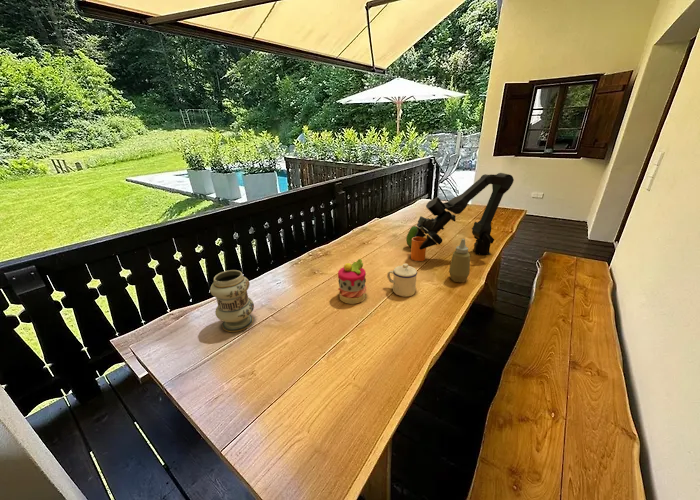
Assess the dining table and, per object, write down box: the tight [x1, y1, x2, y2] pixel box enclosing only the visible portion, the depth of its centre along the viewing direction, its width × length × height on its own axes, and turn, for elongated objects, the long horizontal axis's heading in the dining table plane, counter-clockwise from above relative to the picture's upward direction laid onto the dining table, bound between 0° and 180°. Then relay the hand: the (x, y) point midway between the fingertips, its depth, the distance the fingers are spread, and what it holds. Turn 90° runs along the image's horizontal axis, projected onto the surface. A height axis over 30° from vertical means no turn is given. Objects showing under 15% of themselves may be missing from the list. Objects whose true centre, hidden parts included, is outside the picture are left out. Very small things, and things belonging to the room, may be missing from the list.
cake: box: [337, 258, 367, 305], centre depth 112 cm, size 10×11×15 cm
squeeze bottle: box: [448, 238, 471, 283], centre depth 122 cm, size 8×8×18 cm
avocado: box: [405, 225, 418, 248], centre depth 157 cm, size 8×8×12 cm
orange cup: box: [410, 236, 427, 262], centre depth 145 cm, size 7×7×10 cm
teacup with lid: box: [386, 263, 418, 297], centre depth 116 cm, size 12×9×12 cm
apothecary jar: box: [209, 269, 255, 333], centre depth 97 cm, size 12×12×18 cm
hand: (416, 245), depth 144 cm, fingers open, 9 cm apart
